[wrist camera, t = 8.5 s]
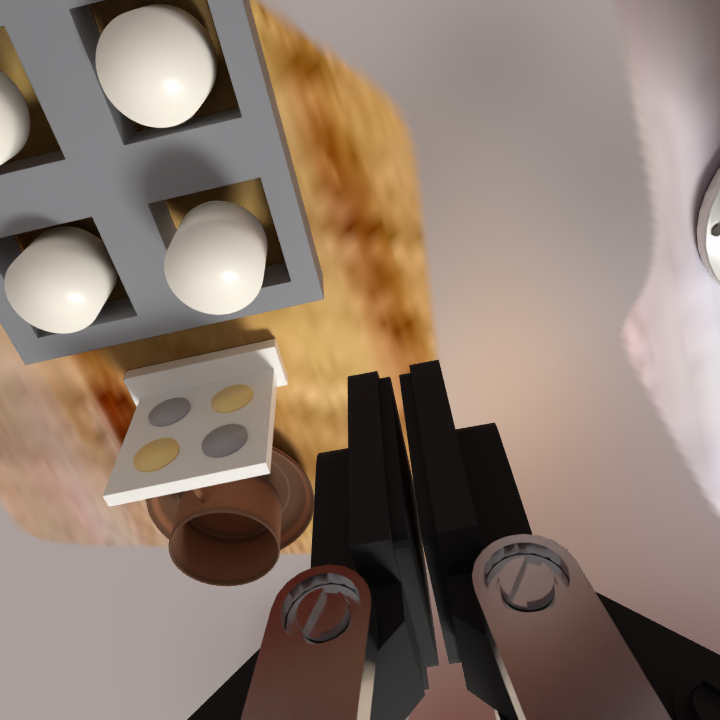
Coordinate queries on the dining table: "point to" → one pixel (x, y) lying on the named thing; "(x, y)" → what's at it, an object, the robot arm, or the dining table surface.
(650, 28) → the dining table surface
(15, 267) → the button
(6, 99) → the button
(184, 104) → the button
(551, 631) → the robot arm
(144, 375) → the card
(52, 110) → the button board
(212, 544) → the cup and saucer
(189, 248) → the button
